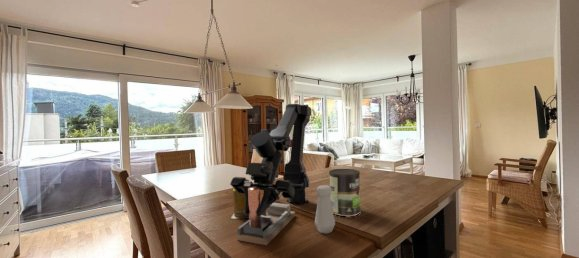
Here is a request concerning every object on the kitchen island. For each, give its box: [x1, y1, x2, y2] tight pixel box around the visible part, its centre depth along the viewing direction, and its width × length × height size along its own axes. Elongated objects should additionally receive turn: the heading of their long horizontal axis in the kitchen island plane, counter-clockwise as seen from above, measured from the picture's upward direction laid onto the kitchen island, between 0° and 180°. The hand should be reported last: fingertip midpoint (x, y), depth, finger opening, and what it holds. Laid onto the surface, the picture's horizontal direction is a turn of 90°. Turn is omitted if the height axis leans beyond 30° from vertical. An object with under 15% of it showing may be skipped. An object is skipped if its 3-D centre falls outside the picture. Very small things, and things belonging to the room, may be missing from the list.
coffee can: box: [328, 168, 361, 216], centre depth 87 cm, size 10×10×14 cm
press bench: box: [236, 202, 296, 246], centre depth 77 cm, size 21×9×4 cm, turn 157°
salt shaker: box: [314, 184, 336, 234], centre depth 73 cm, size 6×6×13 cm
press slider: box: [243, 187, 273, 236], centre depth 71 cm, size 6×6×12 cm
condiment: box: [230, 179, 250, 219], centre depth 88 cm, size 7×8×12 cm
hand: (252, 215), depth 68 cm, fingers closed on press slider, 3 cm apart
